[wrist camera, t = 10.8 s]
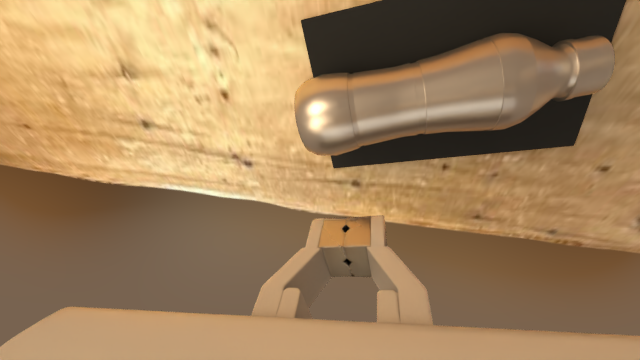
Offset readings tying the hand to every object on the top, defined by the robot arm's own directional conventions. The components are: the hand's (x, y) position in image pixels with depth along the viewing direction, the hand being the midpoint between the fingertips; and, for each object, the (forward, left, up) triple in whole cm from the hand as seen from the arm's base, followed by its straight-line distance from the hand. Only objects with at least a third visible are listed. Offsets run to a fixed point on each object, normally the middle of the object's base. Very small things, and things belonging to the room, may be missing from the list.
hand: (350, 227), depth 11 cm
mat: (-7, 0, -16) cm, 17 cm away
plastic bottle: (+5, 0, -12) cm, 13 cm away
